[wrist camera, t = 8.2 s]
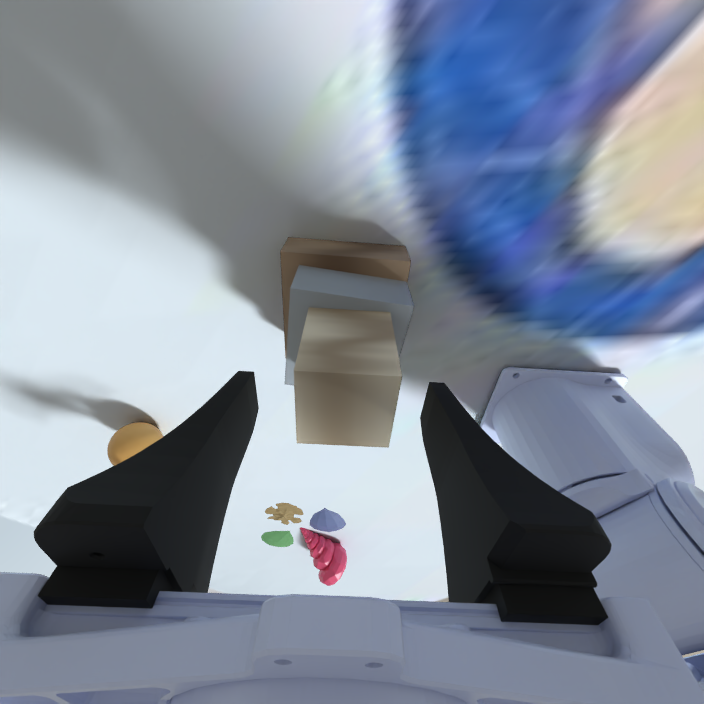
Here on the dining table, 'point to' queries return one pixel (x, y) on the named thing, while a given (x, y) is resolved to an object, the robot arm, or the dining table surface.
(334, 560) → the toy pieces
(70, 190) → the dining table surface
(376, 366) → the birch block
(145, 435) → the figurine
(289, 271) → the walnut block
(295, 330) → the slate grey block
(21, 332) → the dining table surface
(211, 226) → the dining table surface
